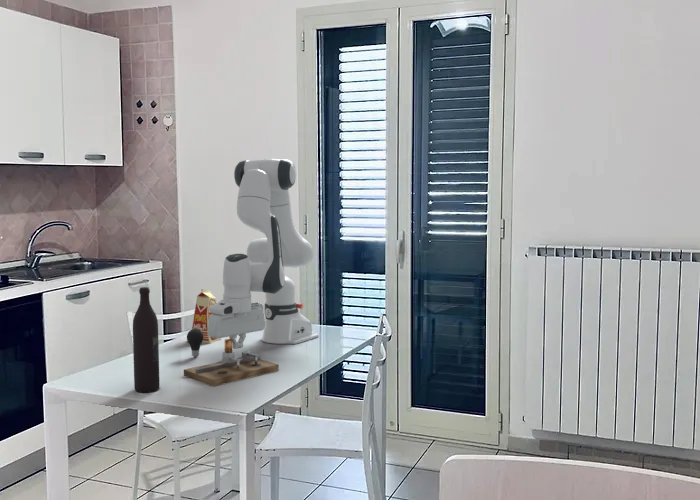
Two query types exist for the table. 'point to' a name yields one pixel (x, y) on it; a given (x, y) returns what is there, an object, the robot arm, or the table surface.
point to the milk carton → (204, 314)
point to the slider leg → (229, 353)
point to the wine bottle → (145, 346)
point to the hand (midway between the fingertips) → (237, 348)
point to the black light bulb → (195, 341)
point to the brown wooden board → (231, 372)
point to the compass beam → (245, 358)
